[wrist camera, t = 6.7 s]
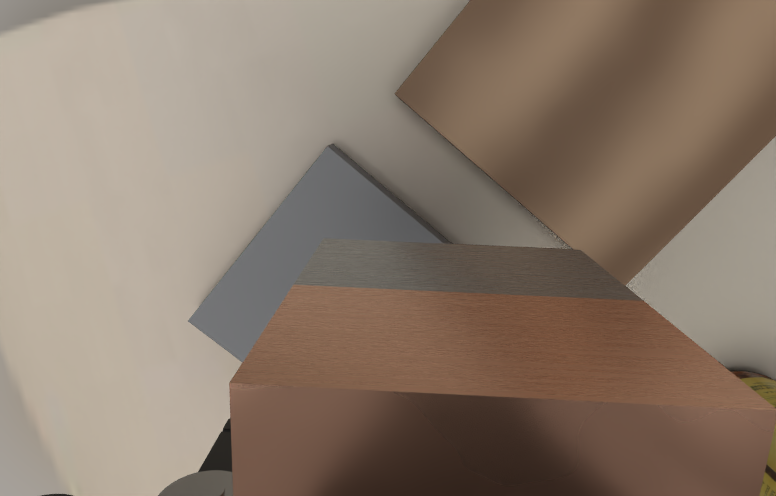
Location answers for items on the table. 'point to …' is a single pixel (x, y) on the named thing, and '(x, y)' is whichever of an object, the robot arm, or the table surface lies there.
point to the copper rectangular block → (484, 384)
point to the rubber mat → (303, 246)
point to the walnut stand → (605, 110)
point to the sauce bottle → (772, 490)
